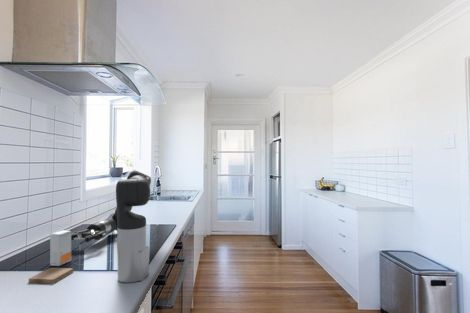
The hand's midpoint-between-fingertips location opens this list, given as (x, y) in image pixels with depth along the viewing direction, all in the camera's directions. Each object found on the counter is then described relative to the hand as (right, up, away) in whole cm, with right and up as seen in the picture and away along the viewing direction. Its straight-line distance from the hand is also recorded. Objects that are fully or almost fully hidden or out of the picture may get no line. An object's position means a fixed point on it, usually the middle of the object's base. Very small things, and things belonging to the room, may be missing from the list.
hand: (76, 239), depth 116 cm
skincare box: (-1, -7, -9) cm, 11 cm away
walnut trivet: (+4, -6, -21) cm, 22 cm away
